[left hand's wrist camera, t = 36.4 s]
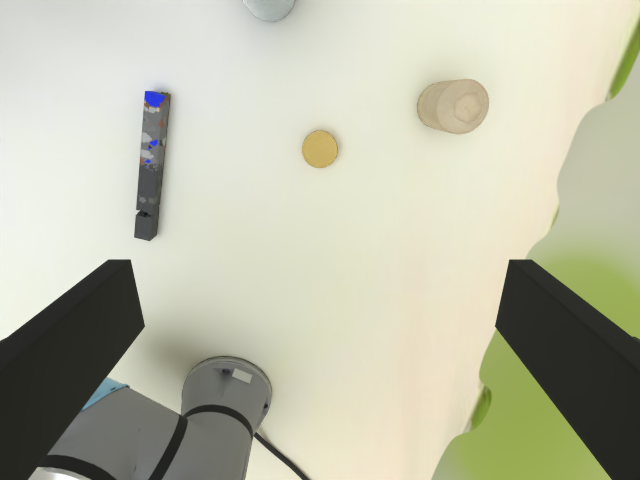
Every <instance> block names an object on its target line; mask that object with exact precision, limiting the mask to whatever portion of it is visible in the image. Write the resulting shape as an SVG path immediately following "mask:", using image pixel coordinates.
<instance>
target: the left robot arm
mask: <svg viewBox="0 0 640 480" xmlns="http://www.w3.org/2000/svg"><path fill="white" fill-rule="evenodd" d="M144 327H145V324H144V320H143V315H142V310H141V306H140V301H139V297H138V292H137V287H136V283H135V278H134V273H133V269H132V264H131V260H107V261H106V262H105V263H103V264H102V265H101V266H99V267H98V268H97V269H96V270H94V271H93V272H92V273H90V274H89V275H88V276H86V277H85V278H84V279H83V280H81V281H80V282H79V283H77V284H76V285H75V286H73V287H72V288H71V289H70V290H68V291H67V292H66V293H64V294H63V295H62V296H60V297H59V298H58V299H57V300H55V301H54V302H53V303H51V304H50V305H49V306H47V307H46V308H45V309H44V310H42V311H41V312H40V313H38V314H37V315H36V316H34V317H33V318H32V319H31V320H29V321H28V322H27V323H25V324H24V325H23V326H22V327H20V328H19V329H18V330H16V331H15V332H14V333H12V334H11V335H10V336H9V337H7V338H5V339H3V340H1V341H0V480H245V477H246V472H247V466H248V461H249V456H250V450H251V445H252V440H253V436H254V437H255V438H256V439H257V440H258V441H259V442H260V443H262V444H263V445H264V446H265V447H266V448H267V449H268V450H269V451H271V452H272V453H273V454H274V455H275V456H277V457H278V458H279V459H280V460H281V461H283V462H284V463H285V464H286V465H287V466H289V467H290V468H291V469H292V470H293V471H294V472H295V473H296V474H297V475H298V476H299V477H300V478H301V479H302V480H308V479H307V478H306V477H305V476H304V475H303V474H302V473H301V472H300V471H299V470H298V469H297V468H296V467H295V466H294V465H293V464H292V463H291V462H290V461H289V460H287V459H286V458H285V457H284V456H283V455H281V454H280V453H279V452H278V451H277V450H275V449H274V448H273V447H272V446H271V445H270V444H269V443H267V442H266V441H265V440H264V439H263V438H262V437H261V436H260V435H259V434H258V433H257V432H256V431H257V429H258V427H259V426H260V424H261V423H262V421H263V419H264V418H265V416H266V414H267V412H268V409H269V407H270V402H271V396H272V390H271V385H270V382H269V380H268V379H267V377H266V376H265V374H264V373H263V372H262V371H261V370H260V369H259V368H258V367H256V366H255V365H253V364H251V363H249V362H247V361H245V360H242V359H239V358H234V357H215V358H211V359H207V360H205V361H203V362H201V363H199V364H198V365H196V366H195V367H194V368H193V369H192V370H191V371H190V373H189V375H188V377H187V379H186V381H185V383H184V386H183V390H182V406H181V415H180V414H178V413H176V412H174V411H172V410H170V409H168V408H167V407H165V406H163V405H161V404H159V403H157V402H155V401H153V400H151V399H149V398H148V397H146V396H144V395H142V394H140V393H138V392H136V391H134V390H132V389H130V386H129V385H127V384H121V383H119V382H117V381H114V380H112V379H110V378H108V377H107V376H108V374H109V373H110V372H111V370H112V369H113V368H114V366H115V365H116V364H117V362H118V361H119V360H120V358H121V357H122V356H123V355H124V353H125V352H126V351H127V349H128V348H129V347H130V345H131V344H132V343H133V341H134V340H135V339H136V337H137V336H138V335H139V334H140V332H141V331H142V330H143V328H144ZM495 327H496V328H497V330H498V331H499V332H500V334H501V335H502V336H503V337H504V339H505V340H506V341H507V343H508V344H509V345H510V347H511V348H512V349H513V351H514V352H515V353H516V355H517V356H518V357H519V358H520V360H521V361H522V362H523V364H524V365H525V366H526V368H527V369H528V370H529V372H530V373H531V374H532V375H533V377H534V378H535V379H536V381H537V382H538V383H539V385H540V386H541V387H542V389H543V390H544V391H545V393H546V394H547V395H548V397H549V398H550V399H551V400H552V402H553V403H554V404H555V406H556V407H557V408H558V410H559V411H560V412H561V414H562V415H563V416H564V417H565V419H566V420H567V421H568V423H569V424H570V425H571V427H572V428H573V429H574V431H575V432H576V433H577V435H578V436H579V437H580V438H581V440H582V441H583V442H584V444H585V445H586V446H587V448H588V449H589V450H590V452H591V453H592V454H593V456H594V457H595V458H596V459H597V461H598V462H599V463H600V465H601V466H602V467H603V469H604V470H605V471H606V473H607V474H608V475H609V477H610V478H611V479H612V480H640V339H638V338H636V337H631V336H630V335H629V334H628V333H626V332H625V331H624V330H622V329H621V328H620V327H618V326H617V325H616V324H615V323H613V322H612V321H611V320H609V319H608V318H607V317H605V316H604V315H603V314H602V313H600V312H599V311H598V310H596V309H595V308H594V307H592V306H591V305H590V304H589V303H587V302H586V301H585V300H583V299H582V298H581V297H580V296H578V295H577V294H576V293H574V292H573V291H572V290H570V289H569V288H568V287H567V286H565V285H564V284H563V283H561V282H560V281H559V280H557V279H556V278H555V277H554V276H552V275H551V274H550V273H548V272H547V271H546V270H544V269H543V268H542V267H541V266H539V265H538V264H537V263H535V262H534V261H533V260H509V264H508V269H507V273H506V278H505V283H504V287H503V292H502V297H501V301H500V306H499V310H498V315H497V320H496V324H495Z"/></svg>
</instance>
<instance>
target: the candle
mask: <svg viewBox="0 0 640 480" xmlns="http://www.w3.org/2000/svg"><path fill="white" fill-rule="evenodd" d="M488 107H489V98H488V94H487V92H486V90H485V88H484V87H483V86H482V85H481V84H480V83H478V82H477V81H474V80H471V79H462V80H454V81H445V82H438V83H435V84H432V85H430V86H429V87H428V88H426V89H425V90H424V91H423V93H422V94H421V96H420V98H419V101H418V106H417V110H418V115H419V117H420V119H421V121H422V122H423V123H424V124H426V125H427V126H429V127H432V128H435V129H439V130H442V131H446V132H450V133H453V134H465V133H468V132H470V131H472V130H474V129H475V128H477V127H478V126H479V125H480V124H481V123H482V121H483V120H484V118H485V117H486V114H487V111H488Z"/></svg>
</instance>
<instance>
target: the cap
mask: <svg viewBox="0 0 640 480" xmlns="http://www.w3.org/2000/svg"><path fill="white" fill-rule="evenodd" d="M302 153H303V156H304V159H305V160H306V162H307V163H308V164H310V165H311V166H313V167H316V168H323V167H327V166H329V165H330V164H331V163H332V162H333V161H334V160H335V158H336V156H337V144H336V141H335V139H334V138H333V136H332V135H331V134H329V133H327V132H325V131H315V132H312V133H311V134H309V135H308V136H307V137H306V139H305V141H304V143H303V147H302Z"/></svg>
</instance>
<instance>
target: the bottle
mask: <svg viewBox="0 0 640 480" xmlns="http://www.w3.org/2000/svg"><path fill="white" fill-rule="evenodd" d="M242 1H243V2H244V3H245V5H246V6H247V7H248V8H249V10H250V11H251V12H252V13H253V14H254V15H255V16H256V17H257V18H259V19H261V20H263V21H267V22H275V21H279V20H281V19H283V18H284V17H285V16H287V15H288V14H289V12H290V11H291V9H292V7H293V5H294V2H295V0H242Z"/></svg>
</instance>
